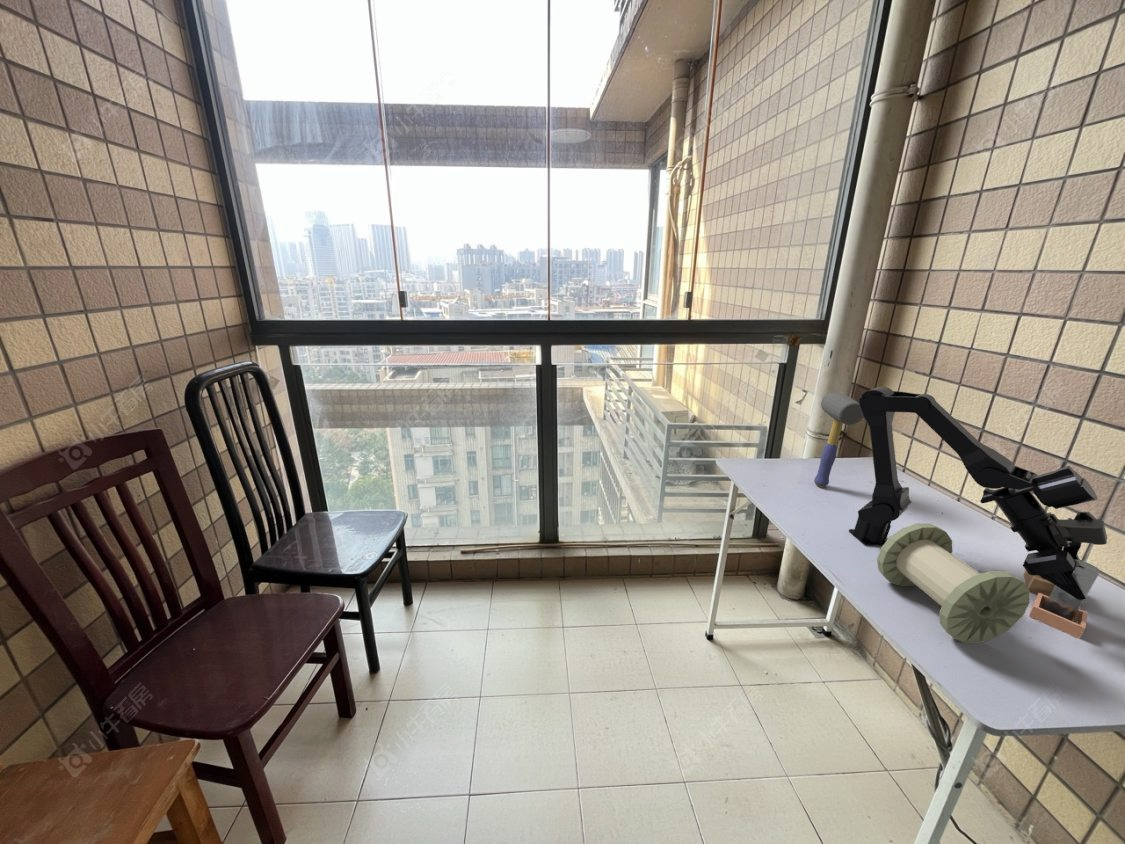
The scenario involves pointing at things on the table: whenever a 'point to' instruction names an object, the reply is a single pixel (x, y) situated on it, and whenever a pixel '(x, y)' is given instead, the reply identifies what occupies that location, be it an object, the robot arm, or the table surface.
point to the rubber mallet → (835, 430)
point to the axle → (1065, 602)
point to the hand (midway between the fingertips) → (1084, 591)
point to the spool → (953, 583)
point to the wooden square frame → (1038, 584)
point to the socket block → (1058, 618)
